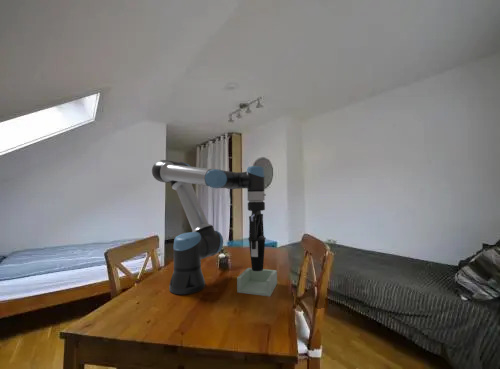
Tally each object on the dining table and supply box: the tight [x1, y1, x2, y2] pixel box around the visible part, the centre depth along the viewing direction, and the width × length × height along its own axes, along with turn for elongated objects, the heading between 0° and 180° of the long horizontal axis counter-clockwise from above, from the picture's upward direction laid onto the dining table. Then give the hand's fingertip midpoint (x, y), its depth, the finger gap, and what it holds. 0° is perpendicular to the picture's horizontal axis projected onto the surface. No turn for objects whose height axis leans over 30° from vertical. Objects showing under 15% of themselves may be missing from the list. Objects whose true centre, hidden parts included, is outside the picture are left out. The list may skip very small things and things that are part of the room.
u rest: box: [236, 267, 278, 297], centre depth 101 cm, size 14×14×6 cm
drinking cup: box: [247, 231, 267, 271], centre depth 101 cm, size 8×8×20 cm
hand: (257, 254), depth 101 cm, fingers closed on drinking cup, 7 cm apart
